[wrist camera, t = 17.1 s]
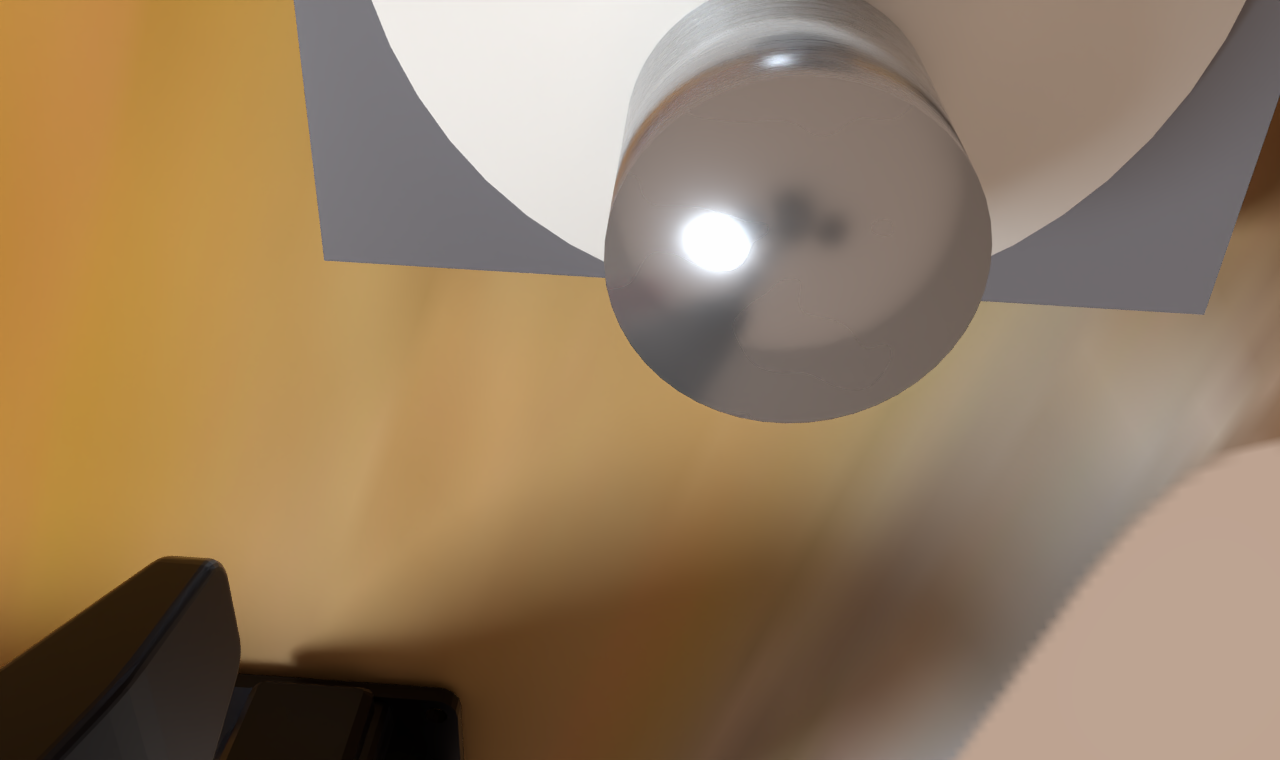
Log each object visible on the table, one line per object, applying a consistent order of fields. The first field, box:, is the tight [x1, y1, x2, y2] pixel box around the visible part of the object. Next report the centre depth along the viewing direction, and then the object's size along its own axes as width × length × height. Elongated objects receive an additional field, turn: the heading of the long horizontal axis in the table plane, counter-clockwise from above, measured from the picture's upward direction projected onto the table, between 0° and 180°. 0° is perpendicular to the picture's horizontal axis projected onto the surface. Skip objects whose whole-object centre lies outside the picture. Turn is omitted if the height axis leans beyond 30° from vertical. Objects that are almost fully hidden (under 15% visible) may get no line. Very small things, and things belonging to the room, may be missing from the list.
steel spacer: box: [604, 0, 992, 423], centre depth 15 cm, size 4×4×4 cm
